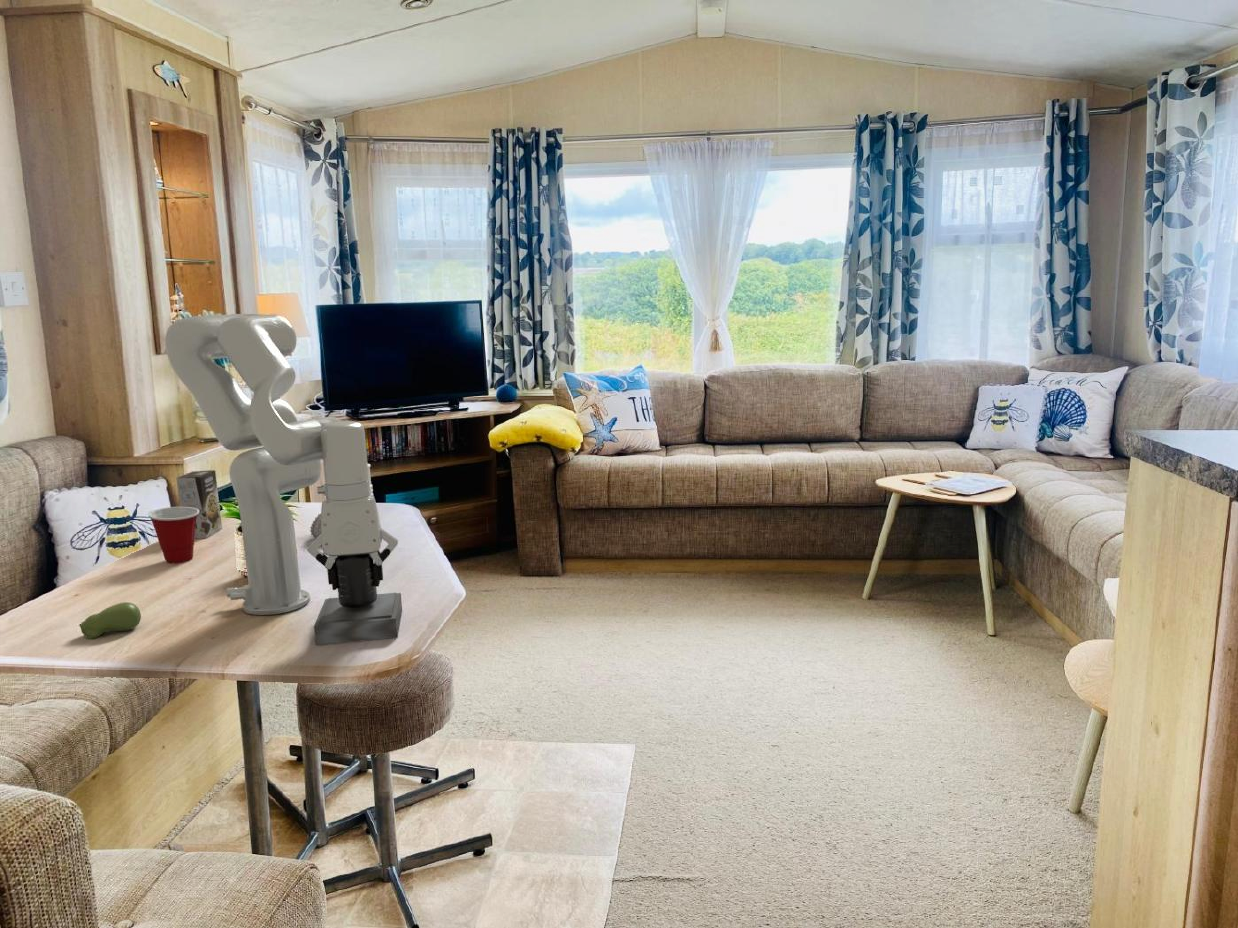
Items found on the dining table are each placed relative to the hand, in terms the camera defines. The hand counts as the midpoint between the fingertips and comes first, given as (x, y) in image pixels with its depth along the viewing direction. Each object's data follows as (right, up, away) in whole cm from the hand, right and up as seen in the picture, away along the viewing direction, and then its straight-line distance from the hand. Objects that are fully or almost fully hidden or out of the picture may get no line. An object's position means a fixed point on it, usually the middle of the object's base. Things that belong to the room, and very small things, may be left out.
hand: (356, 585), depth 166 cm
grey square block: (0, -8, +1) cm, 8 cm away
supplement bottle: (0, -3, +1) cm, 4 cm away
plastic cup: (-55, -1, +48) cm, 73 cm away
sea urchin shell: (-23, +3, +63) cm, 68 cm away
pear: (-46, -9, +3) cm, 48 cm away
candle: (-21, +7, +80) cm, 83 cm away
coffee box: (-60, +4, +71) cm, 93 cm away
